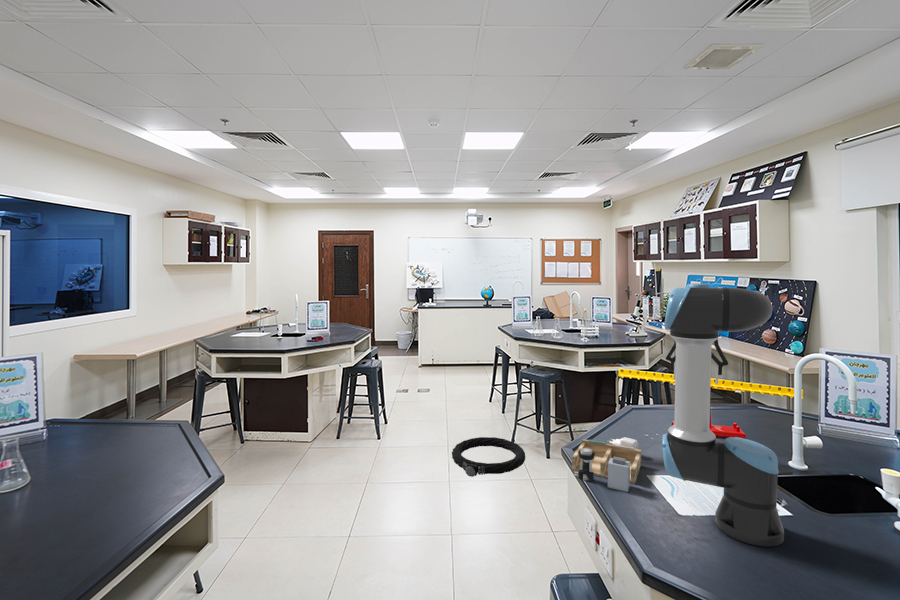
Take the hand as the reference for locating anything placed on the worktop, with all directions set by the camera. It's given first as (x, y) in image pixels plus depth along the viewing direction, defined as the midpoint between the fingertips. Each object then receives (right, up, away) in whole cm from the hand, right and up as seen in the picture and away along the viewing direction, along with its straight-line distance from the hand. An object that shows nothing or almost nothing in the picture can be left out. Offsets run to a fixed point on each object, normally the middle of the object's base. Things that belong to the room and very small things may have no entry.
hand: (695, 381), depth 162 cm
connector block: (-38, -30, -23) cm, 53 cm away
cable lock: (-79, -29, -1) cm, 84 cm away
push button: (-47, -30, -17) cm, 58 cm away
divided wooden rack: (-37, -29, -10) cm, 48 cm away
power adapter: (-27, -28, +3) cm, 39 cm away
